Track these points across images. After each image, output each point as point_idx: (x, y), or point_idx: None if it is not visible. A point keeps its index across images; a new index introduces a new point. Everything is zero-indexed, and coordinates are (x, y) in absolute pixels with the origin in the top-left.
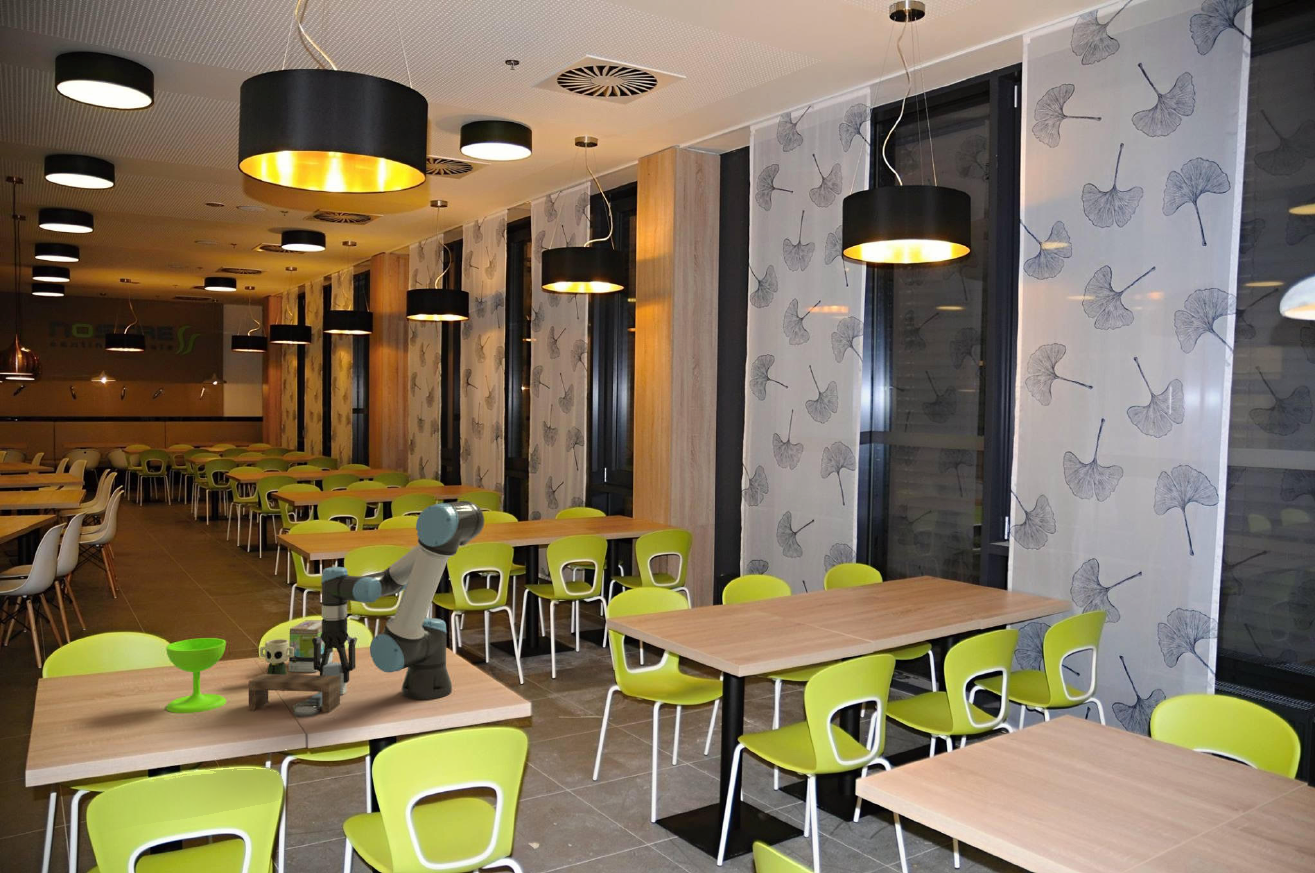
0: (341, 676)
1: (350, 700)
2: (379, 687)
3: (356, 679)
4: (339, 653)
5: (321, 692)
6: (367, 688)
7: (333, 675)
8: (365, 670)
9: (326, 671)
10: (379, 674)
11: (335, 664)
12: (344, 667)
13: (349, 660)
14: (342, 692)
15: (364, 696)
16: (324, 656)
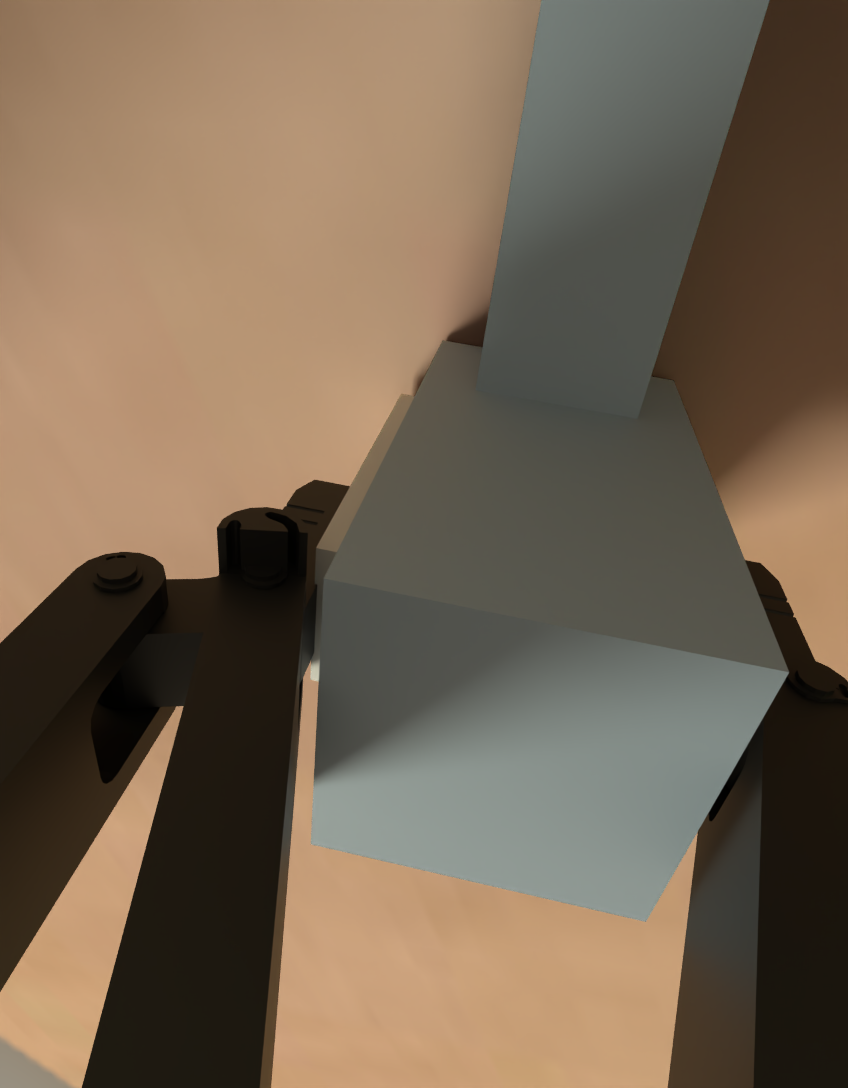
0: None
1: (206, 107)
2: None
3: None
4: (222, 1025)
5: (682, 46)
6: None
7: (497, 493)
8: (430, 1002)
9: (666, 567)
10: (292, 918)
11: (486, 779)
12: (242, 624)
13: (10, 726)
14: (402, 402)
15: (111, 314)
16: (833, 1023)
